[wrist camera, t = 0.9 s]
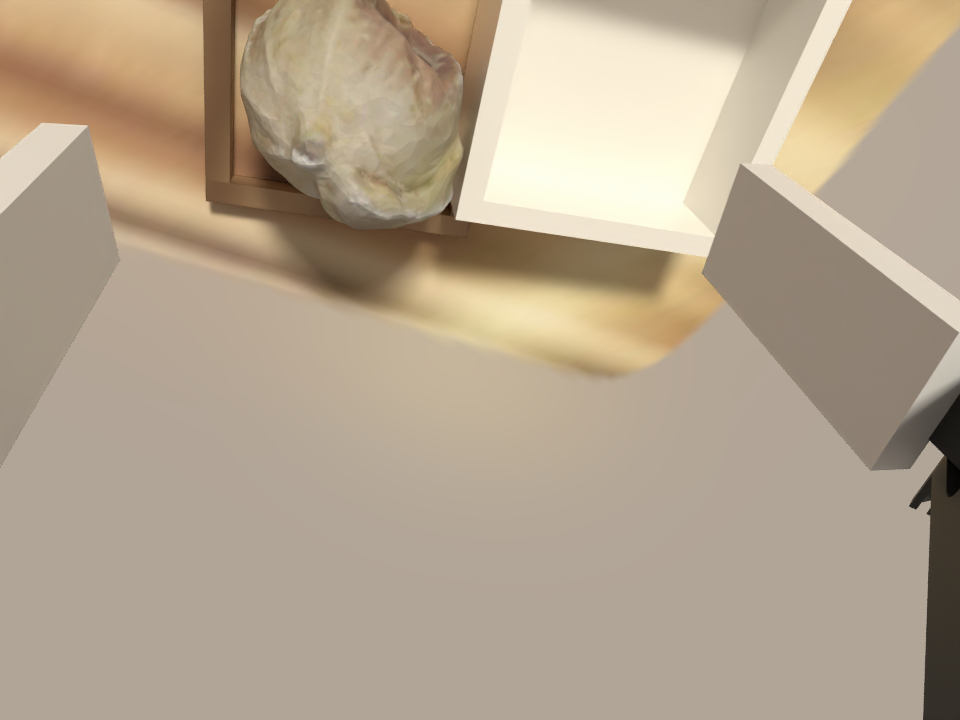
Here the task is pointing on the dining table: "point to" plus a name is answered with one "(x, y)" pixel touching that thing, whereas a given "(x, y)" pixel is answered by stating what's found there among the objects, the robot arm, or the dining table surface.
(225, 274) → the dining table surface
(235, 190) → the frame
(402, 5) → the dining table surface
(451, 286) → the dining table surface
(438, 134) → the garlic bulb
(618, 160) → the open box
